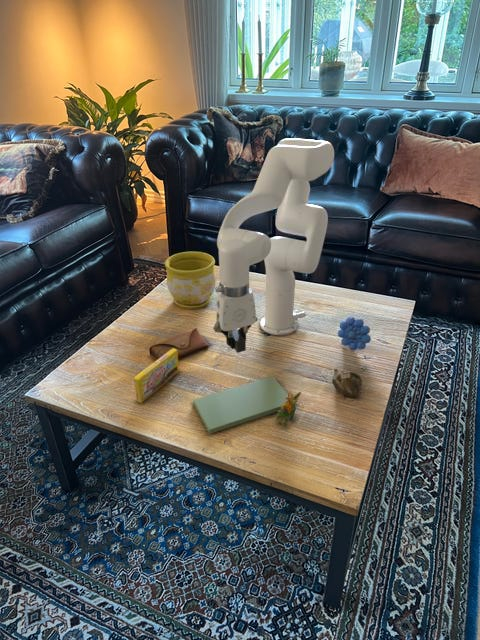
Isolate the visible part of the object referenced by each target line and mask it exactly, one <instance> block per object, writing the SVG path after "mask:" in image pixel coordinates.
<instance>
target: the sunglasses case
mask: <svg viewBox="0 0 480 640" xmlns="http://www.w3.org/2000/svg"><path fill="white" fill-rule="evenodd" d="M210 346H211V344H210V343H209V342H207V341H206V339H205V338H204V337H203V335H202V334H201V333H200V331H199V330H198V328H197V327H195V328H193V329H191V330H189V331H187V332H183V333H180V334H178V335H176V336H173V337H171V338H168V339H166V340H163V341H161V342H159V343H156V344H153V345H151V346H150V347H149V349H148V352H149V355H150V357H151V358H152V359H153V360H154V362H155V361H157V360H158V359H159V358H161V357H162V356H163V355H164V354H166V353H167V352H168V351H170V350H171V349H172V348H174V349H176V350H177V353H178V360H180V359H181V358H184V357H187V356H188V355H192V354H193V353H196V352H198V351H200V350H203V349H205V348H208V347H210Z"/></svg>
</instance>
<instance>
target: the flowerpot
mask: <svg viewBox="0 0 480 640" xmlns="http://www.w3.org/2000/svg"><path fill="white" fill-rule="evenodd" d="M215 264H216V260H215V258H214V257H213V256H212V255H210V254H209V253H206V252H202V251H183V252H179V253H174V254H172V255H171V256H169V257H168V258H166V260H164V268H165V270H166V271H165V272H166V285H167V289H168V292H169V294H170V296H172V298H173V302H174V303H175V304H176V305H177V306H178V307H180V308H183V309H187V310H196V309H201V308H203V307H205V306H207V305H209V303H210V302H211V301H212V298H213V297H212V295H213V293H214V291H215V288H216V282H217V281H216V273H215Z"/></svg>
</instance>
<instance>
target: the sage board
mask: <svg viewBox="0 0 480 640" xmlns="http://www.w3.org/2000/svg"><path fill="white" fill-rule="evenodd" d="M286 397H288V393H287V391H286V390H285V388H284V387H283V386H282V385H281V384H280V383H279V382H278V380H277V379H276V378H275V377H274V375H272V376H268V377H264V378H261V379H257V380H254V381H251V382H248V383H244V384H241V385H238V386H234V387H231V388H228V389H224V390H221V391H217V392H215V393H212V394H208V395H205V396H201V397H198V398H195V399H193V400H192V403H193V406H194V408H195V409H196V411H197V413H198V415H199V417H200V419H201V421H202V422H203V424H204V426H205V428H206V430H207V432H208V434H209V435H211V434H214V433H217V432H221V431H224V430H226V429H229V428H232V427H236V426H239V425H241V424H244V423H247V422H250V421H254V420H256V419H259V418H263V417H265V416H268V415H271V414H274V413H278V410H279V411H280V409H281V407H282V406H283V405H284V404H285V402H286V401H287V400H288V399H287V400H286ZM289 397H291V395H289ZM290 400H291V399H290Z"/></svg>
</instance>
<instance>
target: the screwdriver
mask: <svg viewBox="0 0 480 640" xmlns="http://www.w3.org/2000/svg"><path fill="white" fill-rule="evenodd" d="M238 330H239V329H234V330H232V335H233V337H234V349H233V350H234V351H235V352H236V353H238V354H239V353H241V352H245V351H246V350H247V347H246V346H247V339H246V340H245V339H244V337H243V336H242V335H241V334H240V332H239V331H238ZM224 337H225V338H226V335H224Z"/></svg>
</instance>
